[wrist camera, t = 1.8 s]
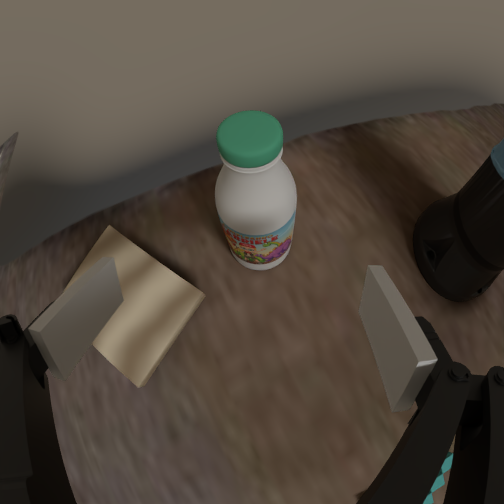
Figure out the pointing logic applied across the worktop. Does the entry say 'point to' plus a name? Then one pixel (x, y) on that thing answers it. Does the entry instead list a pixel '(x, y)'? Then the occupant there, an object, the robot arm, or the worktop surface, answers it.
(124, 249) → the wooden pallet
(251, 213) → the milk bottle
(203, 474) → the worktop surface
